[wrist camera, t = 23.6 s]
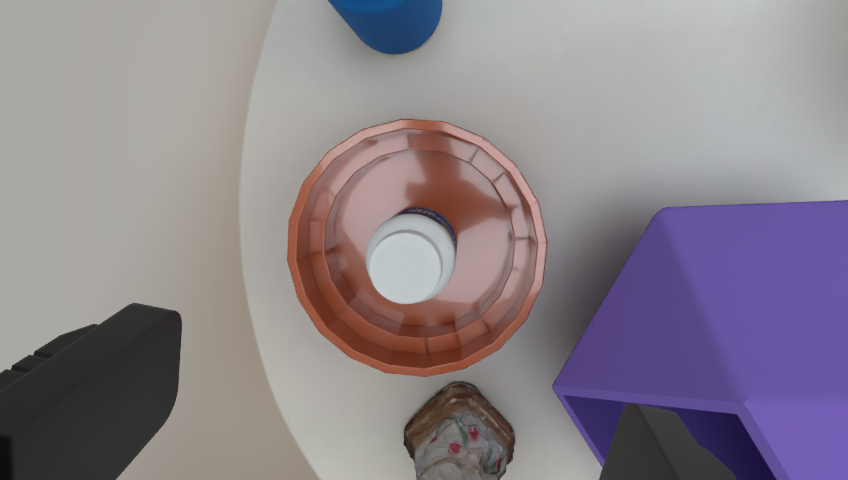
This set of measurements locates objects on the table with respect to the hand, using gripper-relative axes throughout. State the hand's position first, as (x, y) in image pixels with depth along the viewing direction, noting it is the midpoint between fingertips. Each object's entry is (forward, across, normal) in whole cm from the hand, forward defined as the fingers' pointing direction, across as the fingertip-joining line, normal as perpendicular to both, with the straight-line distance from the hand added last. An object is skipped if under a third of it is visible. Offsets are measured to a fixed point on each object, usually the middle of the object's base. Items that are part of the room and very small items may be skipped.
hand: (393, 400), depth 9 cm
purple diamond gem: (+28, -20, +8) cm, 36 cm away
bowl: (+29, 0, +6) cm, 30 cm away
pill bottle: (+29, 0, +6) cm, 29 cm away
